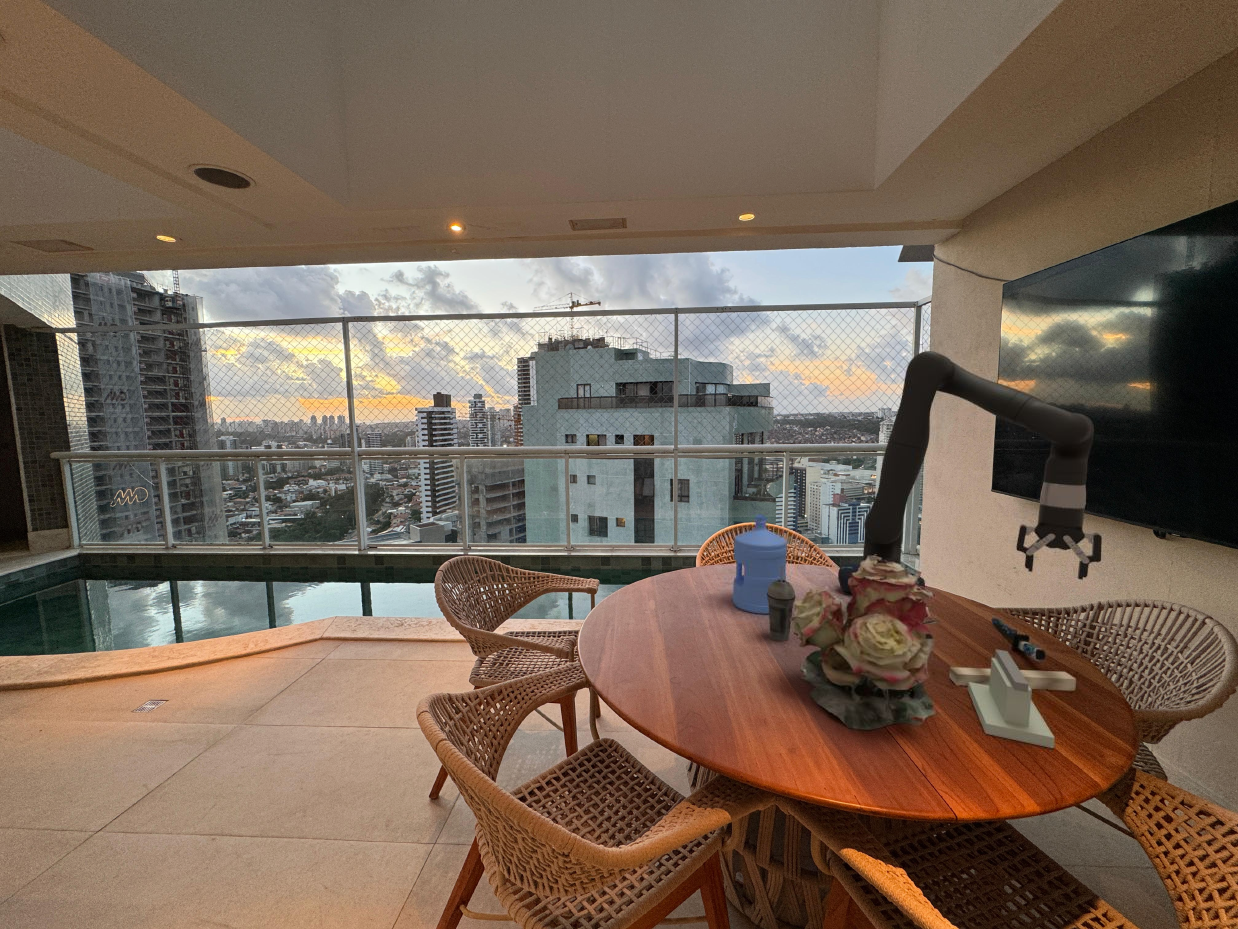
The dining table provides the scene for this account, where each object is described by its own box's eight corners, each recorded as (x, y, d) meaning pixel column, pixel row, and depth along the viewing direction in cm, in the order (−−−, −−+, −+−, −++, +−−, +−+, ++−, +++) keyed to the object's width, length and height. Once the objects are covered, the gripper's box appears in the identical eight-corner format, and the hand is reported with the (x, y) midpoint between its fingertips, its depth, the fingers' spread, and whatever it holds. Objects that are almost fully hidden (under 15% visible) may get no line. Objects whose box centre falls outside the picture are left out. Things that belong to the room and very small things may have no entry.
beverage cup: (794, 633, 136) (796, 561, 134) (794, 645, 129) (796, 569, 127) (766, 630, 139) (768, 558, 137) (764, 641, 132) (766, 566, 130)
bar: (956, 687, 110) (957, 674, 110) (948, 679, 113) (949, 667, 113) (1074, 692, 108) (1076, 679, 108) (1063, 684, 111) (1065, 671, 111)
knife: (1046, 670, 114) (1047, 650, 114) (1030, 667, 115) (1031, 648, 115) (1002, 631, 143) (1003, 615, 142) (989, 629, 144) (990, 613, 144)
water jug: (790, 602, 159) (793, 514, 156) (776, 619, 146) (779, 523, 143) (742, 592, 167) (744, 509, 165) (725, 608, 154) (727, 517, 151)
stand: (1053, 748, 90) (1058, 692, 89) (985, 733, 94) (989, 679, 93) (1026, 701, 104) (1030, 653, 103) (967, 690, 108) (971, 643, 107)
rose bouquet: (777, 666, 119) (781, 541, 116) (903, 668, 118) (911, 542, 115) (816, 735, 93) (823, 577, 90) (978, 738, 93) (990, 579, 90)
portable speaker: (833, 593, 167) (834, 564, 166) (842, 585, 174) (843, 557, 173) (920, 612, 151) (922, 580, 150) (926, 603, 158) (928, 572, 157)
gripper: (1103, 505, 111) (1095, 577, 112) (1020, 497, 119) (1014, 564, 121) (1108, 510, 105) (1099, 586, 106) (1021, 502, 113) (1014, 572, 115)
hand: (1054, 574), depth 114 cm, fingers open, 8 cm apart
